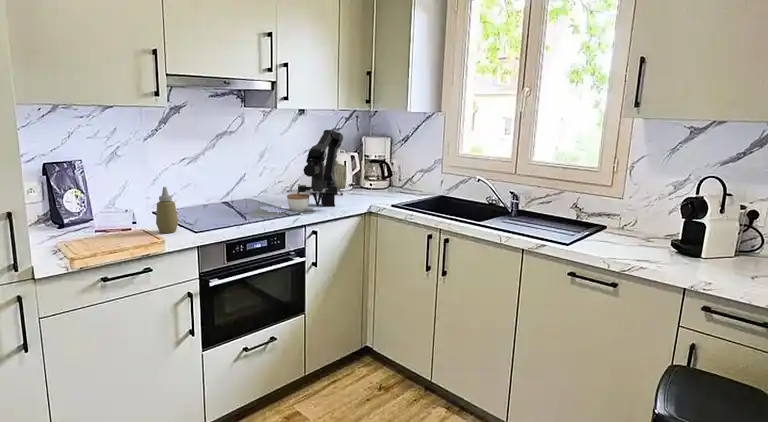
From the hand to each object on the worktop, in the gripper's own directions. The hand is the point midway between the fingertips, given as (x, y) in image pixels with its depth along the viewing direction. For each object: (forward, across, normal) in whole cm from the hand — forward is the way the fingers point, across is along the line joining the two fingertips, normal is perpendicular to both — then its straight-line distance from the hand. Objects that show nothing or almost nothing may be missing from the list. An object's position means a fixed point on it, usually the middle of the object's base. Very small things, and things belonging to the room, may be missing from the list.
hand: (317, 205), depth 242 cm
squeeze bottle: (+3, -60, -39) cm, 71 cm away
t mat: (+3, -16, 0) cm, 17 cm away
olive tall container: (+3, +10, +48) cm, 49 cm away
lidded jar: (+3, -9, 0) cm, 10 cm away
